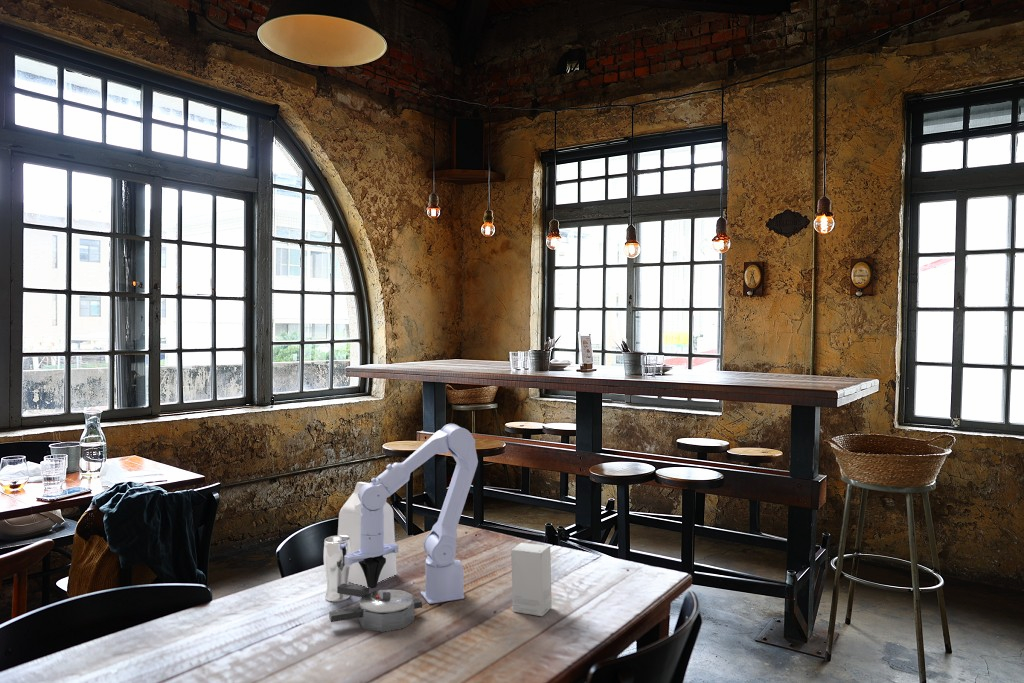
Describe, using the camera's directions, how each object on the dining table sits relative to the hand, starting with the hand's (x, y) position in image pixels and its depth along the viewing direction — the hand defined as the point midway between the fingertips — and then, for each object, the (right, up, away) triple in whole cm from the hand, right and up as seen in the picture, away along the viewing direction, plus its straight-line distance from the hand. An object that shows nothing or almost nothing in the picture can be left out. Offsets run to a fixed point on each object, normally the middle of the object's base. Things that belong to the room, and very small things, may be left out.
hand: (371, 587), depth 176 cm
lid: (+2, -1, -7) cm, 8 cm away
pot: (+3, -5, -9) cm, 11 cm away
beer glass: (-10, -5, +6) cm, 12 cm away
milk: (-6, -5, +21) cm, 22 cm away
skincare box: (+39, -5, -2) cm, 40 cm away
